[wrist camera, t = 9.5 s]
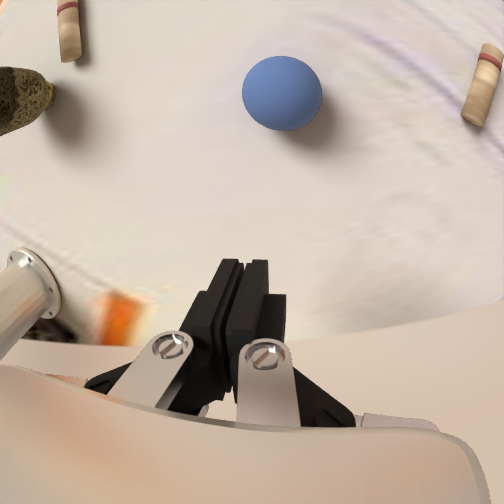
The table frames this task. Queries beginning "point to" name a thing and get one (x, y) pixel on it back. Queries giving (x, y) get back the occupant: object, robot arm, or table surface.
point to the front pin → (483, 85)
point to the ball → (282, 93)
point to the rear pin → (69, 30)
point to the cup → (22, 97)
